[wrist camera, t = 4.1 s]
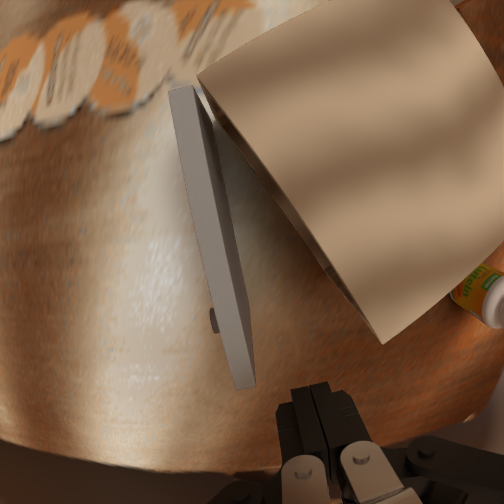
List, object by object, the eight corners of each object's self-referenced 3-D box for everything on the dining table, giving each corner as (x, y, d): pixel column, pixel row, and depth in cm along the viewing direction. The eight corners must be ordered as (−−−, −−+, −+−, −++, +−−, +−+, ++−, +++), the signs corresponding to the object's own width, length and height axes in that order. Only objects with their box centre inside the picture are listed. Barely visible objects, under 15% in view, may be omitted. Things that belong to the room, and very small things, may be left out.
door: (183, 128, 25) (144, 97, 14) (212, 122, 25) (192, 85, 14) (223, 311, 29) (215, 393, 18) (249, 306, 29) (256, 386, 18)
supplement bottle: (464, 249, 30) (524, 275, 20) (488, 271, 30) (543, 299, 21) (439, 292, 31) (494, 330, 21) (465, 310, 31) (516, 347, 22)
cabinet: (215, 119, 26) (196, 75, 13) (358, 33, 24) (423, -32, 11) (326, 275, 30) (382, 344, 17) (449, 181, 28) (544, 195, 15)
